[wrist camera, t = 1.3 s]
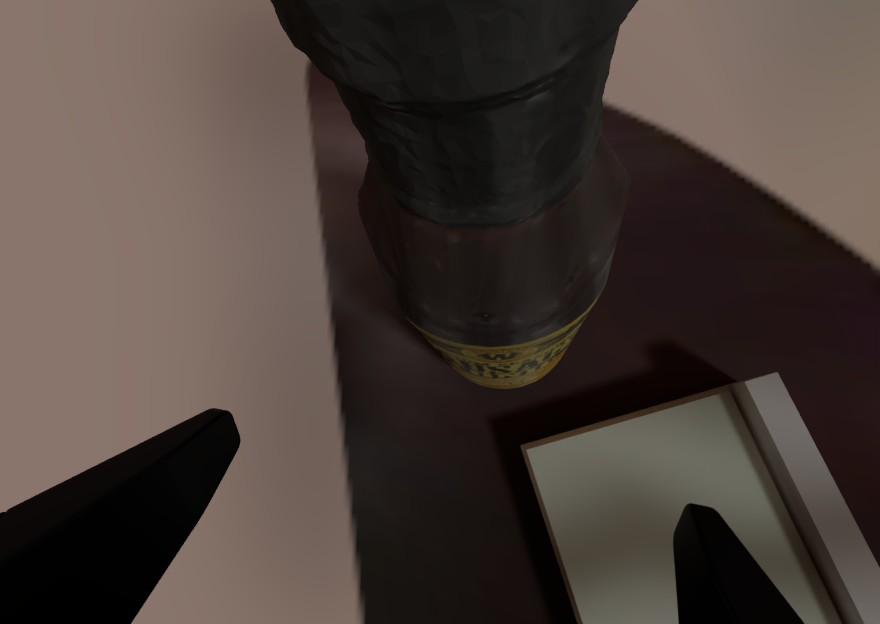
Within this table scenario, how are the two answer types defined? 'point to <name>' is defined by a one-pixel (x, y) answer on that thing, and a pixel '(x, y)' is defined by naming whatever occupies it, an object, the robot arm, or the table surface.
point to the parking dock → (704, 483)
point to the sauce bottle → (480, 164)
